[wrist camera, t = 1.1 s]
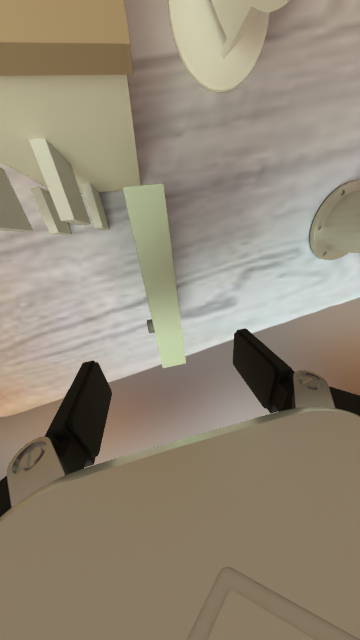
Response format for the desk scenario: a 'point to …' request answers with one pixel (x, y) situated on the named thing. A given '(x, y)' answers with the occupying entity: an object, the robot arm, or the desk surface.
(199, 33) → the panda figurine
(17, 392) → the desk surface
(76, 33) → the cabinet
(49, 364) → the desk surface
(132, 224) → the door
